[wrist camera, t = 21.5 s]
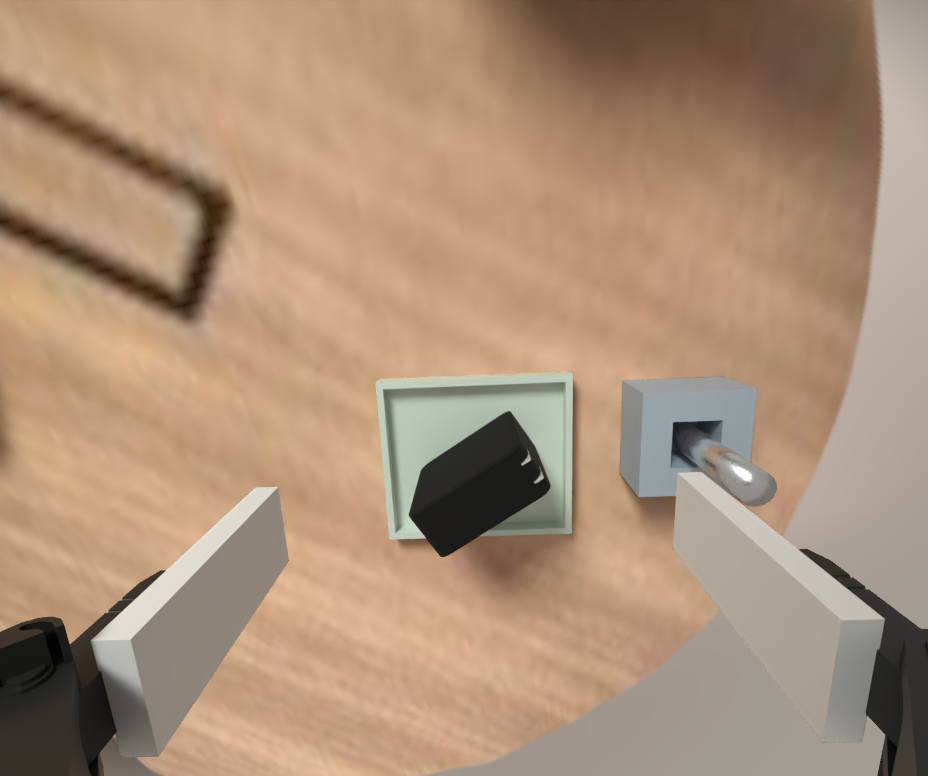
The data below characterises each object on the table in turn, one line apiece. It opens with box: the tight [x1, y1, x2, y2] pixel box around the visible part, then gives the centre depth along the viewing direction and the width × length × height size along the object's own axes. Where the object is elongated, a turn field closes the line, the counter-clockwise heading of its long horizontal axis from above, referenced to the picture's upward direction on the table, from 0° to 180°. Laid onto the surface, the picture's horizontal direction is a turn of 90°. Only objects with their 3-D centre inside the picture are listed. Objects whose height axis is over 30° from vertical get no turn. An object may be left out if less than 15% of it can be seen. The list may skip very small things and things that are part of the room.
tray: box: [376, 371, 573, 539], centre depth 42 cm, size 15×17×2 cm
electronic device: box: [409, 411, 551, 557], centre depth 37 cm, size 4×10×10 cm, turn 125°
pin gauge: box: [672, 422, 777, 506], centre depth 35 cm, size 2×2×12 cm
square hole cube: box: [620, 377, 757, 497], centre depth 39 cm, size 9×9×5 cm
